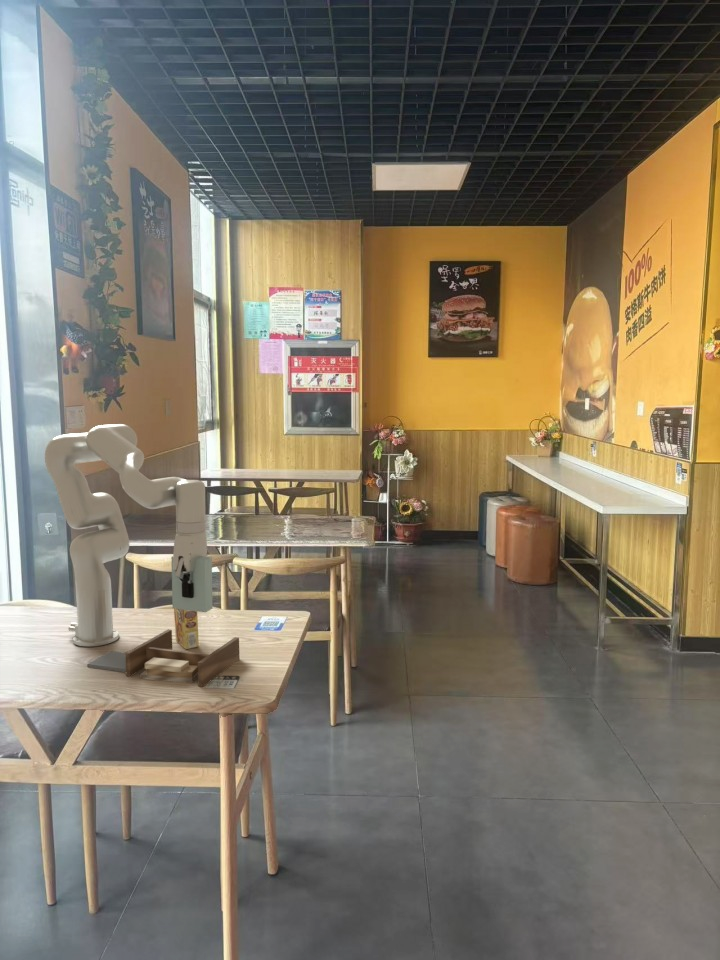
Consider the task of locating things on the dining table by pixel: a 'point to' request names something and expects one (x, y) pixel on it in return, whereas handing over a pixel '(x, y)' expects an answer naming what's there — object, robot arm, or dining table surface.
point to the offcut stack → (170, 670)
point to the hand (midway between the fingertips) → (192, 594)
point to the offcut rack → (183, 656)
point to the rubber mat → (110, 661)
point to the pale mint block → (195, 587)
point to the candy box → (186, 628)
